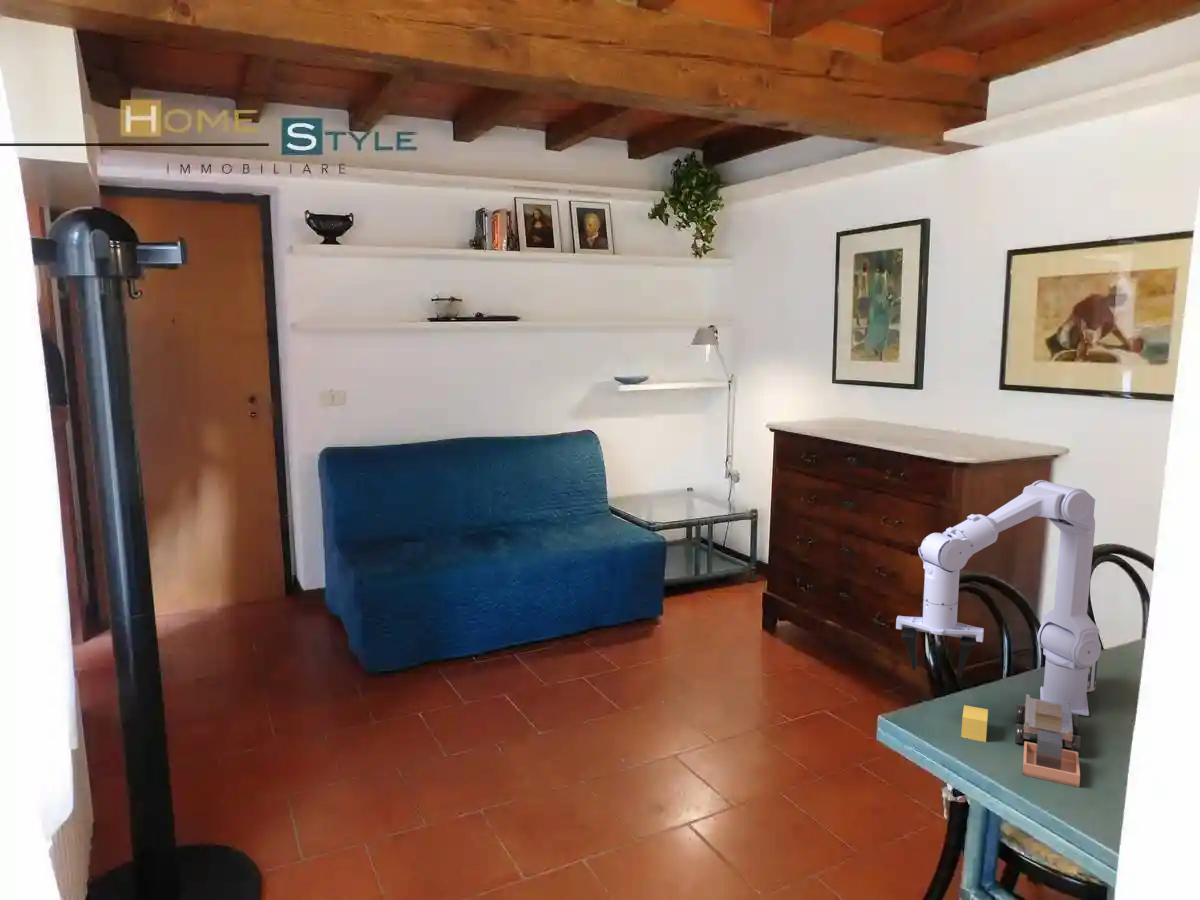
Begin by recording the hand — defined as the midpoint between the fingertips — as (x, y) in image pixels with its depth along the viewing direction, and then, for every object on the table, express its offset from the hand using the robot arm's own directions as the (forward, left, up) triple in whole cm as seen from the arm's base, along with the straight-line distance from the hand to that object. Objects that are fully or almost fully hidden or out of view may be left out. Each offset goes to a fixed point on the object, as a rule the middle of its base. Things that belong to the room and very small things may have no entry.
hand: (936, 671), depth 148 cm
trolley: (-4, +18, -10) cm, 21 cm away
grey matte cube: (+7, +18, -10) cm, 22 cm away
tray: (+7, +19, -10) cm, 23 cm away
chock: (0, +7, -11) cm, 13 cm away
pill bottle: (-30, +24, -11) cm, 40 cm away
